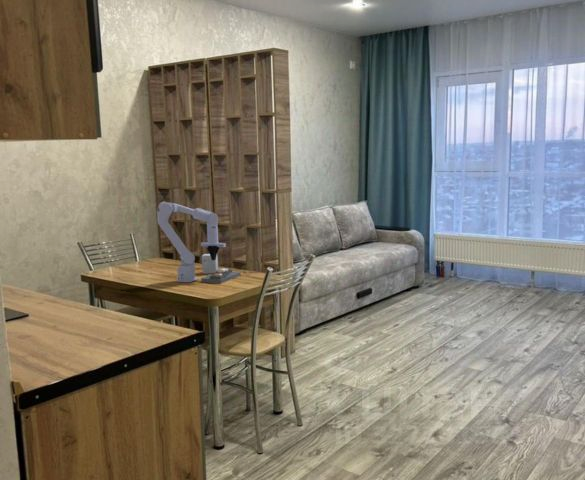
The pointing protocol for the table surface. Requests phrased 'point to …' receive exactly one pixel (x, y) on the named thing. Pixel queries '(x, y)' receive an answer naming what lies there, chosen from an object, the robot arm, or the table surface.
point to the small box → (209, 264)
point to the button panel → (221, 277)
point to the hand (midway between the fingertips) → (213, 259)
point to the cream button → (221, 270)
